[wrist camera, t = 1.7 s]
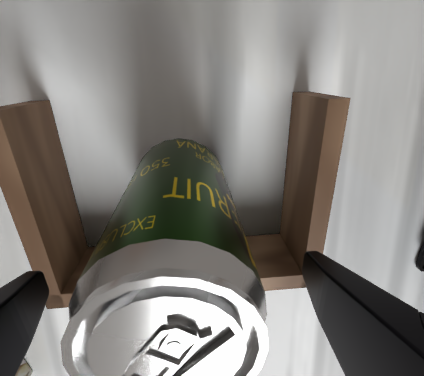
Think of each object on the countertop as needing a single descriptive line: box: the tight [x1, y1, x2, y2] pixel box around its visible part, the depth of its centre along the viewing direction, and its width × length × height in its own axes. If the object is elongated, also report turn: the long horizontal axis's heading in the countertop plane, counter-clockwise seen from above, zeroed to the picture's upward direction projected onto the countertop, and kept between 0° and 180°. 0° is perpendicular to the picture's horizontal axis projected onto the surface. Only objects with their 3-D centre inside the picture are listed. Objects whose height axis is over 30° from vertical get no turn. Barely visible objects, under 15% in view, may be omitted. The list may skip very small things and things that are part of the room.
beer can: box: [61, 139, 269, 376], centre depth 12 cm, size 5×5×12 cm
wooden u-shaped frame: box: [0, 92, 350, 309], centre depth 15 cm, size 16×11×4 cm
